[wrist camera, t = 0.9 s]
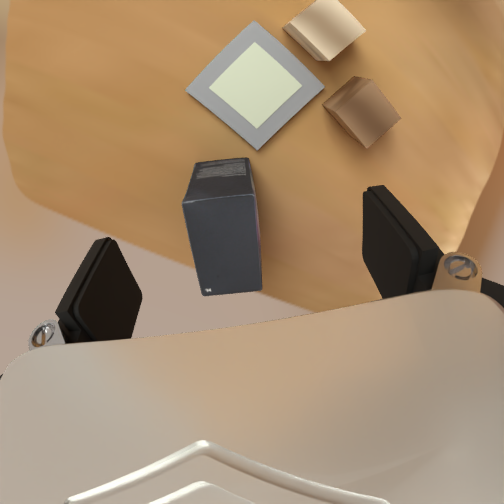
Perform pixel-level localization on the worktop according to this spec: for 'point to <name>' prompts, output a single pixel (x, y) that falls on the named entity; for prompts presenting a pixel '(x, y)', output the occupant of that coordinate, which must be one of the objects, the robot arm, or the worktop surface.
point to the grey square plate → (255, 85)
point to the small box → (224, 227)
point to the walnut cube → (362, 110)
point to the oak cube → (324, 29)
